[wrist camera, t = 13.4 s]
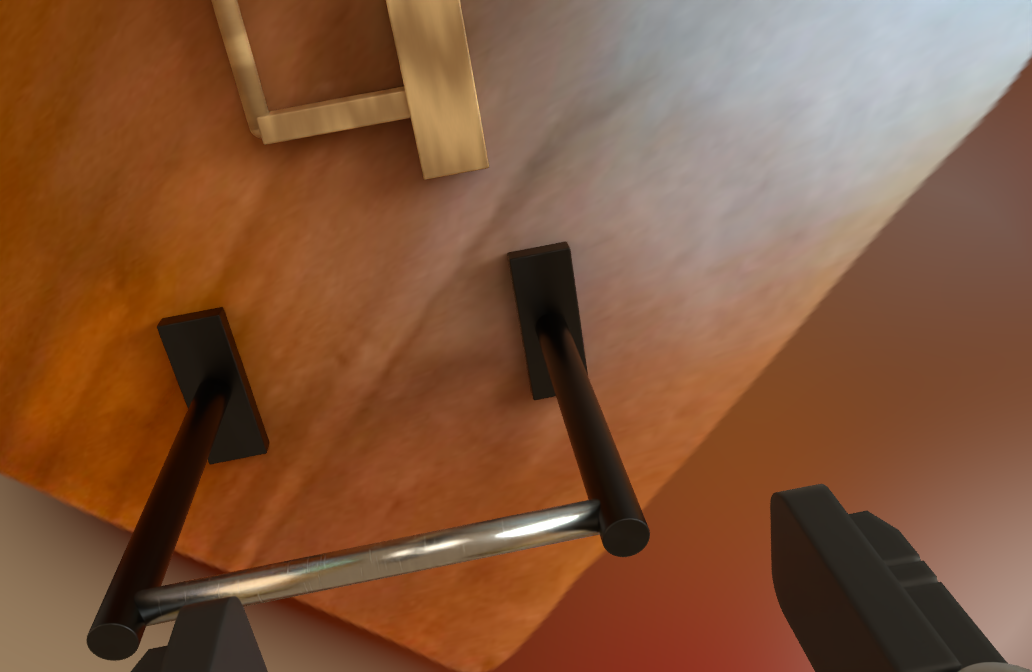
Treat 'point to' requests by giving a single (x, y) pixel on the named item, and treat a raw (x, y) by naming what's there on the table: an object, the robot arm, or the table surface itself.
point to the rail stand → (240, 433)
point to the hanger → (424, 97)
